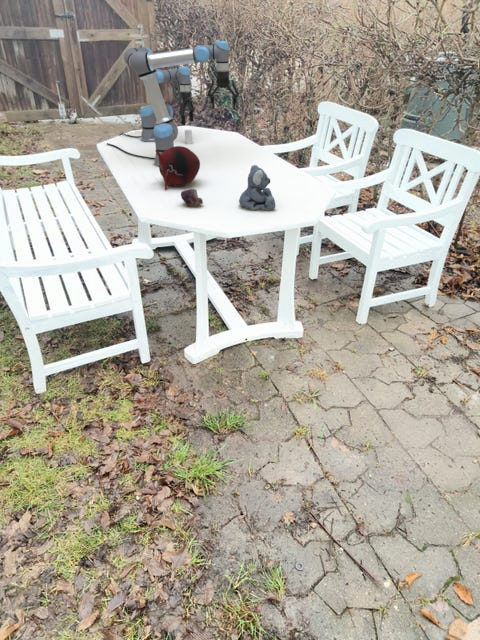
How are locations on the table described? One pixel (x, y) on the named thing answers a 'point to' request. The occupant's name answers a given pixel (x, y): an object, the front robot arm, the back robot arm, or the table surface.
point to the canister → (188, 136)
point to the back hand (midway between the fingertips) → (187, 123)
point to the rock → (191, 197)
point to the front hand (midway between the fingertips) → (223, 108)
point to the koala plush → (257, 191)
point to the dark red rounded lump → (178, 166)
